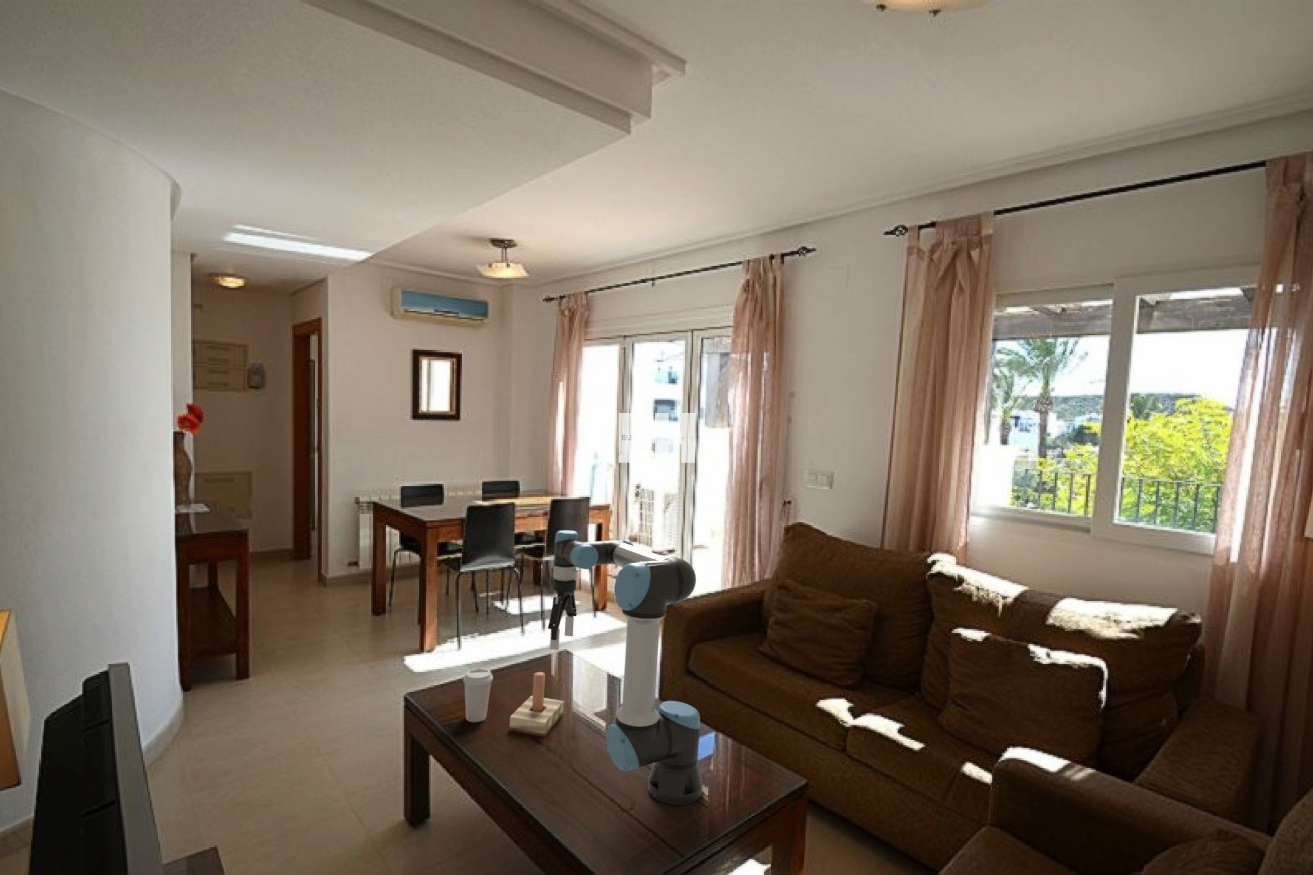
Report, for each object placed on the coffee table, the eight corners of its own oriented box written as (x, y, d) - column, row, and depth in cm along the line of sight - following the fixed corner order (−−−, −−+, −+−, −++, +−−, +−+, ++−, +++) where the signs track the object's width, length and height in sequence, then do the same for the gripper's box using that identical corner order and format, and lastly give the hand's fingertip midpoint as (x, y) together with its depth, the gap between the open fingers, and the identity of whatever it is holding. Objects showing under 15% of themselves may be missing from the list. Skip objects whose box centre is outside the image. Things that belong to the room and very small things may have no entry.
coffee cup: (495, 712, 212) (497, 668, 212) (484, 725, 203) (487, 680, 202) (467, 709, 213) (470, 665, 213) (456, 722, 204) (458, 677, 203)
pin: (539, 722, 205) (542, 677, 205) (529, 720, 206) (532, 675, 205) (544, 717, 208) (546, 672, 208) (534, 715, 209) (536, 671, 209)
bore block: (544, 736, 198) (545, 722, 198) (509, 730, 201) (510, 716, 201) (563, 714, 214) (563, 701, 214) (530, 708, 216) (531, 695, 216)
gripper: (562, 588, 193) (559, 656, 193) (587, 571, 218) (584, 631, 218) (539, 585, 195) (536, 653, 195) (566, 569, 219) (564, 629, 219)
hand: (561, 642), depth 206 cm, fingers open, 13 cm apart
